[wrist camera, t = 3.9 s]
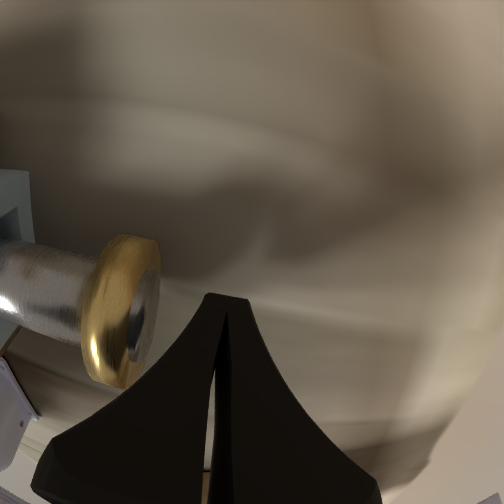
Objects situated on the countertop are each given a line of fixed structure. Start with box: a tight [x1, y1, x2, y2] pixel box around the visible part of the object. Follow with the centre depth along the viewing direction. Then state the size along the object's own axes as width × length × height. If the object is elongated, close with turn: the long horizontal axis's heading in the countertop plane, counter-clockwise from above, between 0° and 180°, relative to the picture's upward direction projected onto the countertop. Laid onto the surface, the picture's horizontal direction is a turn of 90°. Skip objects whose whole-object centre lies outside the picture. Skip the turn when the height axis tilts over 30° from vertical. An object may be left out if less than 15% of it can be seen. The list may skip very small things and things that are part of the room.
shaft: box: [0, 234, 161, 390], centre depth 8 cm, size 5×10×5 cm, turn 78°
